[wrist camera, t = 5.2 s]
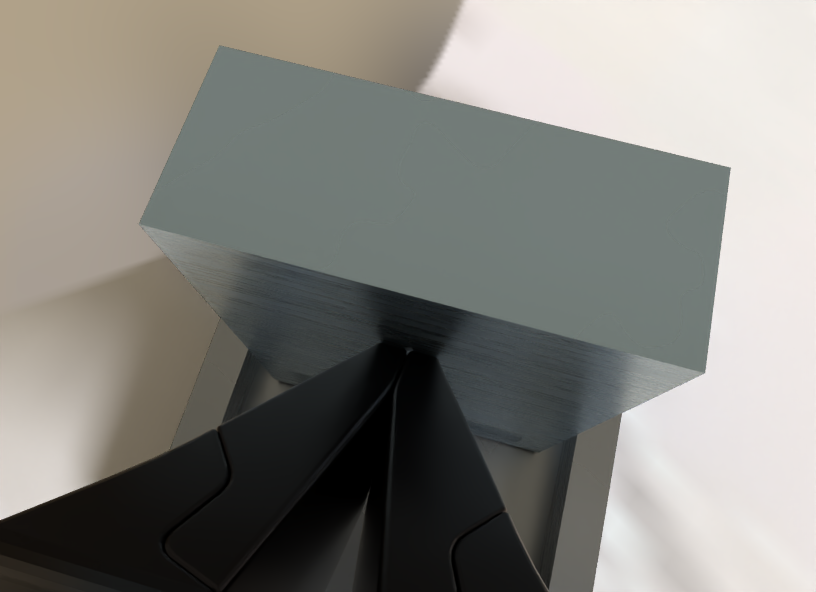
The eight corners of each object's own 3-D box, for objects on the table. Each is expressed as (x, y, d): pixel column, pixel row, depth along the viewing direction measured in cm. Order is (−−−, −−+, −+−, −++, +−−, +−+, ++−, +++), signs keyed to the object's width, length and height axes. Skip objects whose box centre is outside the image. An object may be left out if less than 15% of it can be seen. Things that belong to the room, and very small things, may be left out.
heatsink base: (543, 714, 14) (624, 821, 9) (149, 593, 15) (22, 631, 10) (625, 255, 17) (714, 151, 12) (304, 174, 18) (269, 45, 13)
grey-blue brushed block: (538, 452, 14) (705, 373, 6) (274, 379, 14) (138, 224, 7) (585, 225, 16) (757, -48, 8) (348, 166, 16) (305, -145, 9)
